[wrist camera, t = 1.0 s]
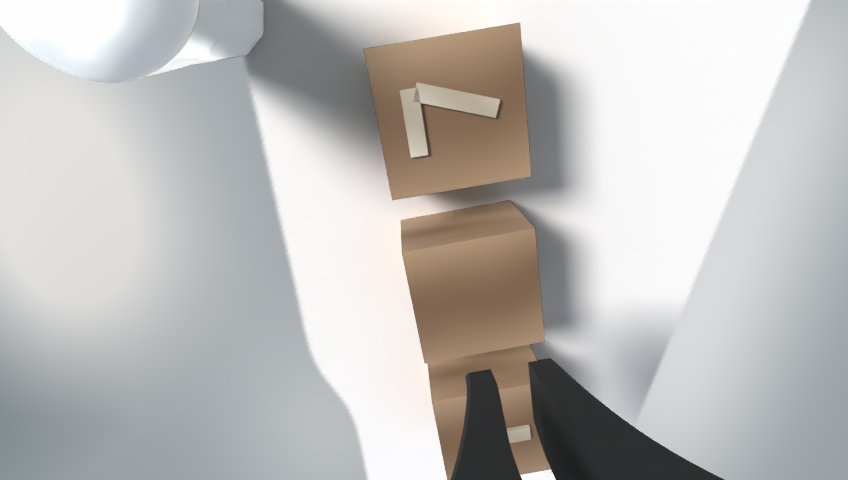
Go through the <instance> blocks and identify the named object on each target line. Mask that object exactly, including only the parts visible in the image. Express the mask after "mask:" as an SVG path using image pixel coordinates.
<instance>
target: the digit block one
mask: <svg viewBox="0 0 848 480" xmlns="http://www.w3.org/2000/svg"><path fill="white" fill-rule="evenodd" d="M532 361H537V359H536V357H535V355H534V353H533V351H532V349H531V347H530V345H524V346H518V347H513V348H507V349H502V350H496V351H491V352H485V353H480V354H474V355H469V356H463V357H458V358H452V359H447V360H441V361H436V362H430V363H428V371H429V380H430V388H431V397H432V404H433V409H434V414H435V419H436V424H437V429H438V434H439V440H440V445H441V450H442V455H443V460H444V465H445V470H446V475H447V480H451V477H452V473H453V470H454V466H455V463H456V459H457V455H458V450H459V446H460V441H461V437H462V432H463V426H464V418H465V411H466V400H467V385H466V379H465V376H466V375H467V374H468V373H470V372H475V371H481V370H487V369H491V371H492V373H493V375H494V378H495V380H496V382H497V385H498V389H499V394H500V399H501V404H502V409H503V414H504V418H505V423H506V428H507V433H508V438H509V442H510V446H511V450H512V453H513V456H514V459H515V462H516V465H517V468H518V470H519V473H520V475H521V474H527V473H532V472H538V471H543V470H549V469H551V468H550V465H549V463H548V461H547V459H546V456H545V453H544V451H543V448H542V445H541V442H540V439H539V436H538V433H537V429H536V426H535V423H534V419H533V409H532V398H531V388H530V378H529V368H528V362H532Z"/></svg>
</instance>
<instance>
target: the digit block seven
mask: <svg viewBox="0 0 848 480" xmlns="http://www.w3.org/2000/svg"><path fill="white" fill-rule="evenodd" d="M364 54H365V59H366V64H367V69H368V75H369V80H370V85H371V90H372V96H373V101H374V106H375V112H376V117H377V122H378V127H379V133H380V138H381V143H382V149H383V154H384V159H385V164H386V170H387V175H388V180H389V186H390V191H391V196H392V200H397V199H403V198H409V197H415V196H421V195H426V194H432V193H438V192H444V191H450V190H456V189H462V188H468V187H473V186H479V185H485V184H491V183H497V182H503V181H509V180H515V179H520V178H526V177H531V166H530V152H529V139H528V125H527V111H526V97H525V84H524V70H523V56H522V42H521V29H520V23H515V24H509V25H503V26H497V27H491V28H485V29H479V30H473V31H467V32H461V33H455V34H449V35H443V36H437V37H431V38H426V39H420V40H414V41H408V42H402V43H396V44H390V45H384V46H378V47H372V48H366V49H364Z"/></svg>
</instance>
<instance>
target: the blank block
mask: <svg viewBox="0 0 848 480" xmlns="http://www.w3.org/2000/svg"><path fill="white" fill-rule="evenodd" d="M401 242H402V256H403V260H404V265H405V270H406V275H407V280H408V285H409V289H410V294H411V299H412V304H413V309H414V314H415V319H416V323H417V328H418V333H419V338H420V343H421V348H422V353H423V357H424V362H425V363H430V362H436V361H441V360H447V359H452V358H458V357H463V356H469V355H474V354H480V353H485V352H491V351H496V350H502V349H507V348H513V347H518V346H524V345H529V344H535V343H540V342H545V337H544V325H543V314H542V303H541V292H540V280H539V269H538V258H537V246H536V235H535V228H534V227H533V226H532V224H531V223H530V222H529V221H528V220H527V219H526V218H525V217H524V215H523V214H522V213H521V212H520V211H519V210H518V209H517V208H516V206H515V205H514V204H513V203H512V202H511V201H510V200H508V201H502V202H497V203H491V204H486V205H481V206H475V207H470V208H464V209H459V210H453V211H448V212H443V213H437V214H432V215H426V216H421V217H415V218H410V219H405V220H401Z"/></svg>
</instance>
